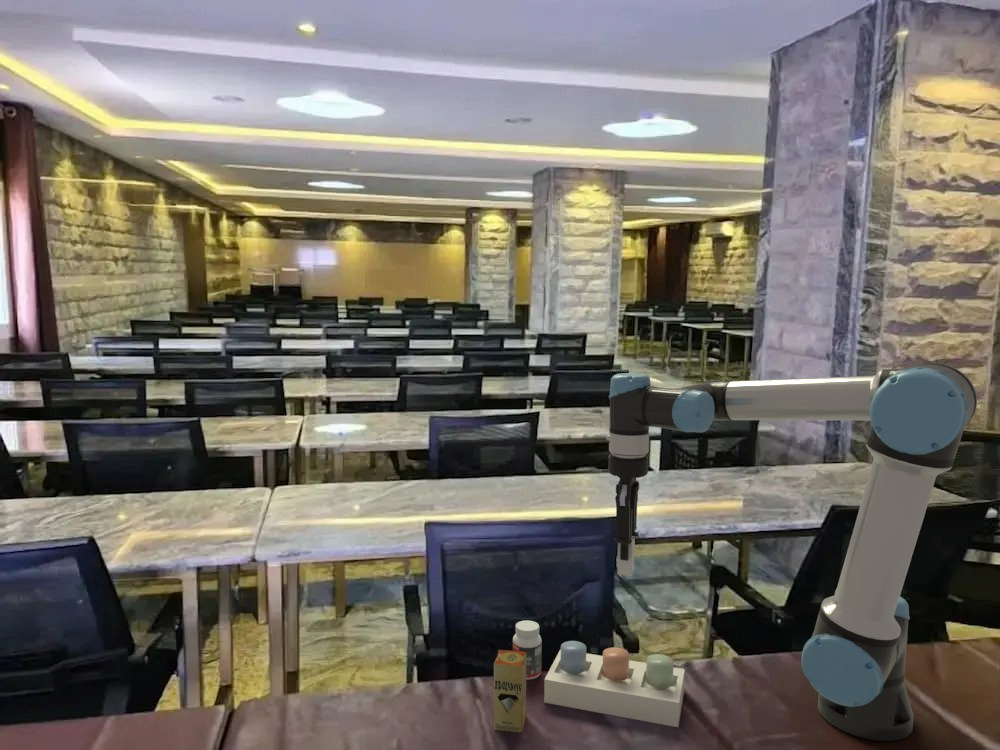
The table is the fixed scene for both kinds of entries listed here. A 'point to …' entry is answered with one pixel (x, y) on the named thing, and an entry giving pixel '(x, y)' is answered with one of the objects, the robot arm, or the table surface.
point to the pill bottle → (529, 646)
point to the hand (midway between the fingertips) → (625, 571)
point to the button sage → (659, 671)
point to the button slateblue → (573, 657)
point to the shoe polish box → (510, 691)
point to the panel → (615, 692)
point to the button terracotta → (615, 664)
